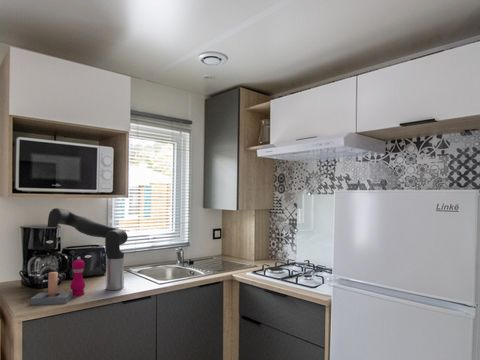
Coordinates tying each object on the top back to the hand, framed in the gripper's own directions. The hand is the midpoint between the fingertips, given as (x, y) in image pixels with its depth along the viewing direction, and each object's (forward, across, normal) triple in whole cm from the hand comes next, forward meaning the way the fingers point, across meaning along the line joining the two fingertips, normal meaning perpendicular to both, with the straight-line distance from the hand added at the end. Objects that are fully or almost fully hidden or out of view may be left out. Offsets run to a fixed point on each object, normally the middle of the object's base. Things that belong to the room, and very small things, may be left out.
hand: (51, 280), depth 175 cm
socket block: (+6, 0, +9) cm, 11 cm away
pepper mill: (0, +12, +9) cm, 15 cm away
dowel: (+6, 0, +9) cm, 10 cm away
